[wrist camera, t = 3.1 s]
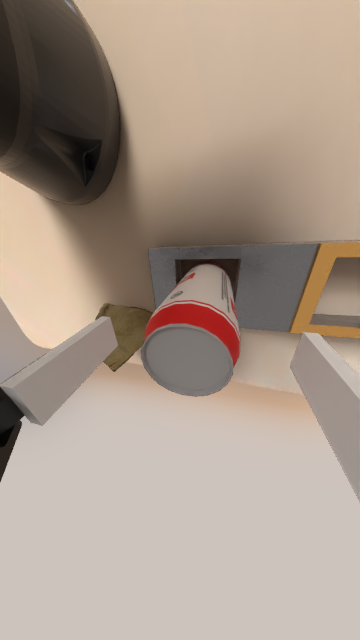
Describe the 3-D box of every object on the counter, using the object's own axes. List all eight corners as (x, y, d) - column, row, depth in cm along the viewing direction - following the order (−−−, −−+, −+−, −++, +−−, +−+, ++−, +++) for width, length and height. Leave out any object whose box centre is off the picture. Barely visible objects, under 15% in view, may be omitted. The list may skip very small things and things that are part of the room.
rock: (85, 323, 28) (124, 362, 29) (54, 321, 20) (110, 377, 20) (131, 284, 30) (166, 322, 30) (120, 267, 21) (170, 321, 22)
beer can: (180, 295, 24) (125, 377, 10) (194, 253, 21) (141, 293, 7) (218, 310, 24) (213, 415, 10) (239, 271, 20) (274, 347, 7)
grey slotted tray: (163, 312, 26) (156, 322, 23) (156, 246, 21) (146, 249, 18) (391, 327, 19) (420, 343, 17) (456, 236, 15) (512, 237, 12)
